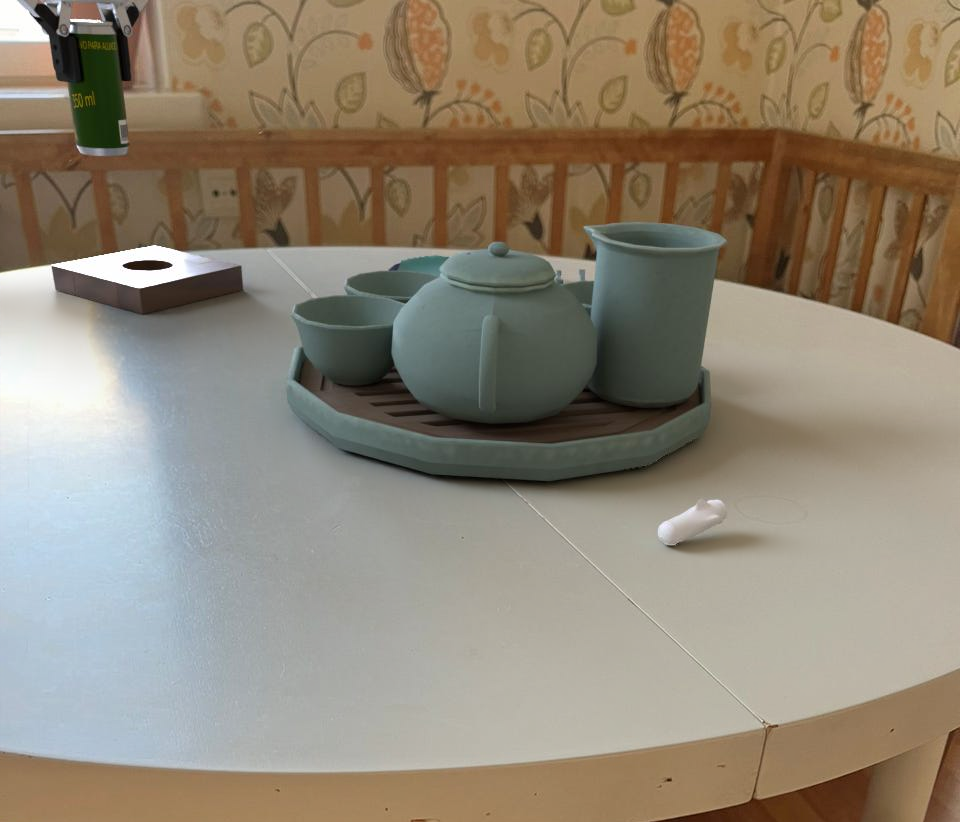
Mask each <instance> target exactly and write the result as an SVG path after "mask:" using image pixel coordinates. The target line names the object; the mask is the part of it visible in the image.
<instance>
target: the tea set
mask: <svg viewBox="0 0 960 822" xmlns="http://www.w3.org/2000/svg"><path fill="white" fill-rule="evenodd" d="M582 228H583V229H584V231H585V233H586V234H587V236H588V237H589V238H590V240H591V241H592V243H593V245H594V246H593V247H594V248H595V250H596V257H595V269H594V280H585V281H580V280H578V281H573V282H565V283H563V284H561V285H559V284H558V282H559V280H558V279H557V276H556V271H555V270H554V267H553V265H552V264H551V263H550V262H549V261H548V260H546V259H545V258H544V257H541V256H539V255H538V256H537V255H535V254H532V253H529V252H526V251H519V250H513V249H510V246H509V245H508V244H507V243H505V242H503V241H493V242H491V243H490V244H489V245H488V246H487V247H488V248H484V249H482V248H481V249H472V250H466V251H462V252H458V253H454V254H453V255H450V256H448V257H449V258H448V259H447V260H446V261H445V262H444V263H443V265H442V266H441V267H440V272H442V273H441V274H440V276H437V275H434V274H430V273H422V272H414V271H388V270H375V271H369V272H360V273H357V274H354V275H352V276H350V277H348V278H345V279H344V283H343V289H344V291H345V293H346V294H334V295H326V296H320V297H319V296H318V297H313V298H312V297H311V298H309V299H306V300H303V301H302V302H299V303H297V304H294V305H293V307H292V311H291V313H290V314H291V315H290V317H291V318H292V320H293V322H294V324H295V326H296V328H297V332H298V334H299V335H298V336H299V338H300V342H301V345H298V346H296V347H295V348H294V350H293V354H292V358H291V362H290V365H289V369H288V372H287V377H286V381H285V391H286V402H287V403H288V405H289V407H290V409H291V411H292V413H293V414H294V415H295V416H297V417H298V418H299V419H301V420H302V421H303V422H304V423H306V424H307V425H308V426H309V427H311V428H312V429H313V430H314V431H316V432H317V433H318V434H319V435H321V436H322V437H323V438H325V439H326V440H327V441H328V442H330V443H331V444H332V445H333V446H335V447H336V448H337V449H340V450H343V451H347V452H351V453H354V454H358V455H362V456H365V457H368V458H373V459H375V460H380V461H384V462H385V463H390V464H393V465H398V466H401V467H405V468H408V469H412V470H415V471H419V472H422V473H425V474H429V475H440V476H456V477H471V478H472V477H473V478H475V477H476V478H489V479H491V478H492V479H509V480H523V481H524V480H525V481H540V482H541V481H542V482H544V481H545V482H552V481H557V480H565V479H573V478H577V477H585V476H591V475H598V474H605V473H611V472H618V471H625V470H631V469H630V468H632V469H636V468H635V467H638V468H642V467H641V466H645V465H646V466H645V467H648V466H647V465H649V466H651V465H652V464H651V463H653V462H655V461H656V460H658V459H660V458H662V457H663V456H665V455H667V454H668V455H670V454H672V453H674V452H675V451H677V450H679V449H681V448H682V447H684V446H686V445H687V444H686V443H688V442H689V443H691V442H692V441H691V440H693V439H695V438H696V439H698V438H700V437H701V436H702V435H703V434H704V432H705V430H706V429H707V427H708V426H709V424H710V417H711V412H712V411H711V410H712V390H711V389H712V387H711V372H710V370H709V369H707V368H705V367H704V366H702V362H703V355H704V350H705V342H706V337H707V329H708V324H709V317H710V311H711V310H710V309H711V305H712V304H711V303H712V298H713V292H714V284H715V278H716V272H717V265H718V259H719V253H720V249H721V248H723V247H724V246H725V245H727V243H728V240H727V239H726V238H724V237H723V236H722V235H721V234H720V233H717V232H715V231H710V230H707V229H703V228H699V227H695V226H687V225H680V224H673V223H665V222H664V223H662V222H647V221H646V222H645V221H644V222H643V221H632V222H630V221H629V222H611V223H607V224H597V225H583V227H582ZM700 435H701V436H700ZM699 436H700V437H699ZM697 437H698V438H697ZM696 439H695V440H696ZM690 441H691V442H690ZM693 441H694V440H693ZM689 443H688V444H689ZM685 444H686V445H685ZM683 445H684V446H683ZM681 446H682V447H681ZM680 447H681V448H680ZM678 448H679V449H678ZM676 449H677V450H676ZM674 450H675V451H674ZM673 451H674V452H673ZM671 452H672V453H671ZM669 453H670V454H669ZM668 455H667V456H668ZM665 457H666V456H665ZM663 458H664V457H663ZM663 458H662V459H663ZM660 460H661V459H660ZM658 461H659V460H658ZM656 462H657V461H656ZM656 462H655V463H656ZM650 464H651V465H650ZM653 464H654V463H653ZM639 466H640V467H639ZM624 469H625V470H624Z"/></svg>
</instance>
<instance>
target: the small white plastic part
mask: <svg viewBox="0 0 960 822" xmlns="http://www.w3.org/2000/svg"><path fill="white" fill-rule="evenodd" d="M727 516H728V509H727V506H726V505H725V503H724V502H723V501H722V500H720V499H709V500H707V501H706V499H705V498H700V499H698V501H697V502H696V504H695V505H693V506H692V507H690V508H688V509H687V510H686V511H684V512H682V513H679V514H678V515H676V516H674V517H671V518H670V519H667V520H666V521H663V522H661V523H660V525H659V526H658V528H657V536H658V538H656V539H654V542H656V541H658V540H659V541H660V540H661V541H663V542H666V543H668V544H677V543H679V542H681V543H683V542H684V540H685V541H687V540H689V539H691V538H693V537H696V536H697V535H699V534H701V533H704V532H705V531H707V530H709V529H711V528H713V527H715V526H717V525H720V524H722V523H723V521H724V520H725V519H726V518H727ZM686 539H687V540H686ZM661 541H660V542H661ZM682 541H683V542H682ZM679 544H680V543H679ZM677 545H678V544H677Z"/></svg>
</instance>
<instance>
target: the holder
mask: <svg viewBox="0 0 960 822" xmlns="http://www.w3.org/2000/svg"><path fill="white" fill-rule="evenodd" d="M50 267H51V273H52V278H53V284H54V290H55V291H57V292H61V293H64V294H68V295H72V296H76V297H78V298H81V299H86V300H89V301H93V302H97V303H101V304H104V305H107V306H111V307H115V308H117V309H118V308H119V309H122V310H125V311H129V312H132V313H137V314H140V315H146V314H150V313H154V312H159V311H163V310H166V309H171V308H175V307H179V306H184V305H188V304H192V303H196V302H199V301H200V302H201V301H203V300H208V299H212V298H216V297H220V296H225V295H228V294H233V293H237V292H240V291H243V290H244V282H243V269H242V268H243V267H242V265H241V264H236V263H232V262H229V261H224V260H219V259H214V258H210V257H205V256H202V255H197V254H193V253H188V252H184V251H180V250H175V249H172V248H168V247H167V248H166V247H162V246H158V245H151V246H147V247H140V248H135V249H130V250H129V249H128V250H125V251H120V252H114V253H108V254H104V255H98V256H93V257H88V258H82V259H77V260H70V261H66V262H61V263H55V264H51V265H50Z"/></svg>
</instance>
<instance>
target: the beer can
mask: <svg viewBox="0 0 960 822" xmlns="http://www.w3.org/2000/svg"><path fill="white" fill-rule="evenodd" d="M112 25H113V22H111V21H103V20H102V19H101V20H100V19H99V20H98V19H76V18H75V19H74V18H73V19H72V18H71V23H70V32H69V36H70V37H75V40H76V44H77V51H78V59H79V66H80V73H81V81H80V83H69V82H66V83H67V91H68V97H69V104H70V112H71V118H72V125H73V126H72V127H73V132H74V139H75V146H76V147H77V149H78V151H79V154H83V155H86V156H92V157H93V156H95V157H117V156H124V155H127V154H128V153H129V149H130V146H131V143H130V136H129V128H128V119H127V111H126V110H127V109H126V102H125V93H124V85H123V81H122V75H121V66H120V58H119V49H118V41H117V33H116V31H115V30H114V28H113V26H112Z"/></svg>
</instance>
